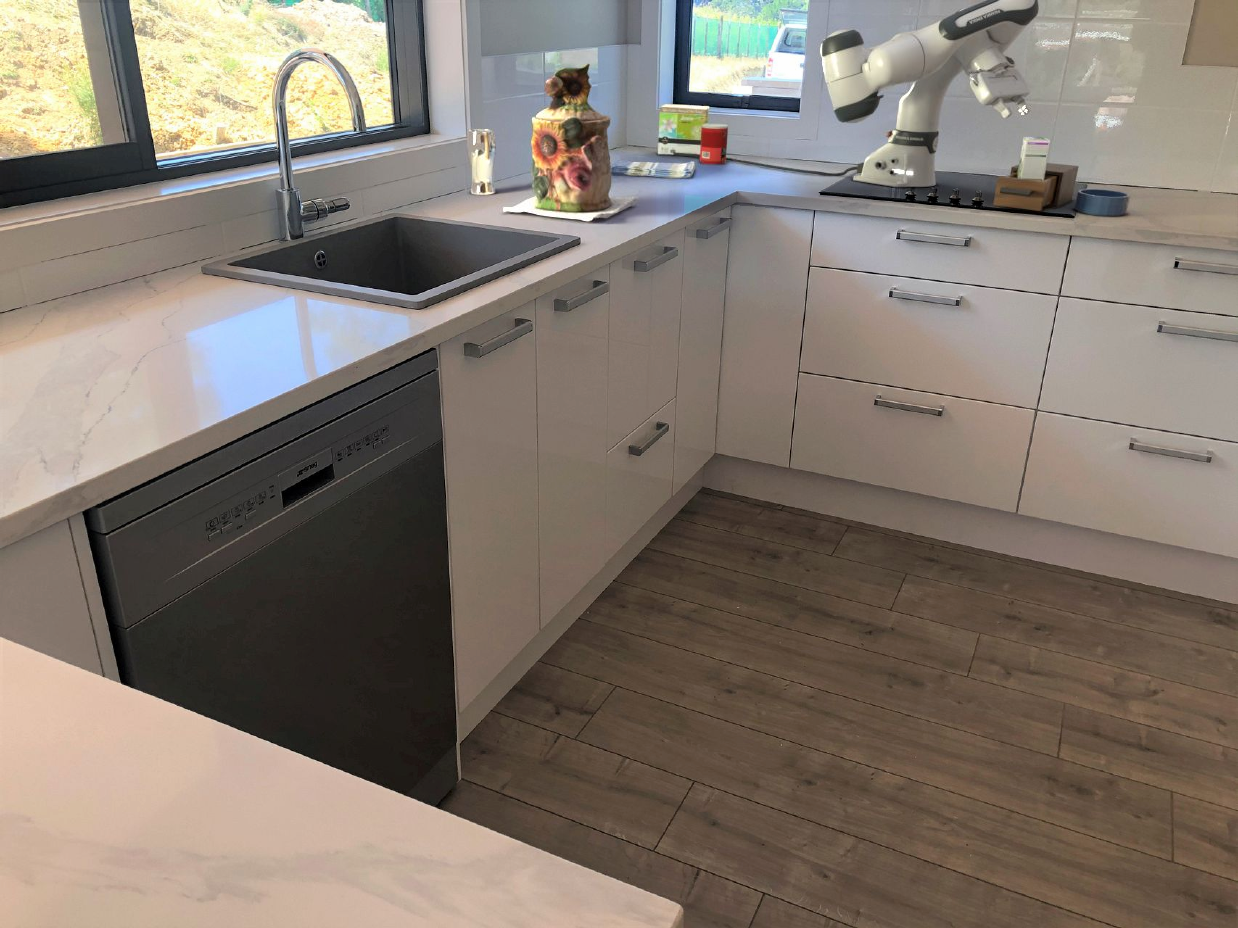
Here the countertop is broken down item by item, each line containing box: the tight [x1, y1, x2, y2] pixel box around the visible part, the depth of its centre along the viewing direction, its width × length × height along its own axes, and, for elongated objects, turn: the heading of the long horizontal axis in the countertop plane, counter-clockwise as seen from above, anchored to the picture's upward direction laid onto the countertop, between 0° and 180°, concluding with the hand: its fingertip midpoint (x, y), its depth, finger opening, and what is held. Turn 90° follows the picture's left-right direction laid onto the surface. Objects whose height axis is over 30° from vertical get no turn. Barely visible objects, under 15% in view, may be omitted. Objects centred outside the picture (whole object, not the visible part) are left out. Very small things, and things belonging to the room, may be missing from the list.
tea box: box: [657, 103, 710, 156], centre depth 322 cm, size 15×10×15 cm, turn 81°
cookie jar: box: [503, 63, 638, 222], centre depth 229 cm, size 25×25×32 cm
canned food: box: [699, 123, 729, 165], centre depth 307 cm, size 8×8×11 cm
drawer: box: [992, 172, 1058, 212], centre depth 247 cm, size 18×11×7 cm, turn 144°
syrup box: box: [1017, 136, 1051, 181], centre depth 247 cm, size 6×6×14 cm
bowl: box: [1074, 188, 1131, 217], centre depth 246 cm, size 12×12×4 cm
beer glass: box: [467, 128, 497, 196], centre depth 251 cm, size 7×7×15 cm
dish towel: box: [611, 160, 696, 179], centre depth 288 cm, size 17×24×3 cm
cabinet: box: [1009, 162, 1080, 209], centre depth 257 cm, size 15×13×9 cm
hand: (1017, 114), depth 245 cm, fingers open, 8 cm apart
